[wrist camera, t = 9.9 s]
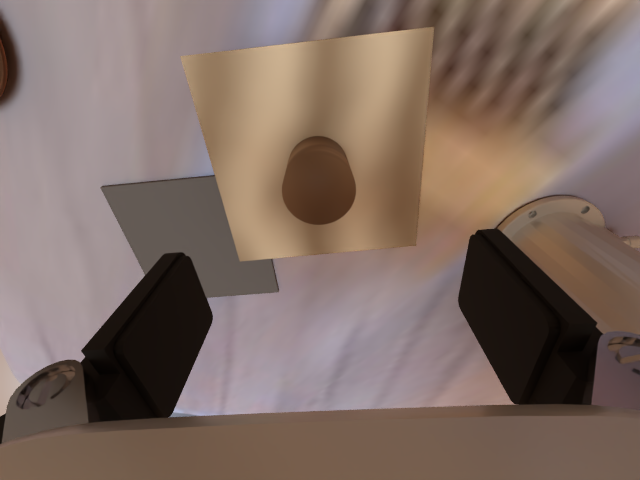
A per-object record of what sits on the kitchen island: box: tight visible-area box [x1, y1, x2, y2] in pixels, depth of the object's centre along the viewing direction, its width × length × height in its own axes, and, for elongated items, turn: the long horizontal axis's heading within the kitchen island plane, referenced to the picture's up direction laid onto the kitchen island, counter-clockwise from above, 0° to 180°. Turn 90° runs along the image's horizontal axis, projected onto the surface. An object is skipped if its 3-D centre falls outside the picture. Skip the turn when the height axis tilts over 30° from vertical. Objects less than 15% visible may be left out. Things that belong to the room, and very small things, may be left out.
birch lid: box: [180, 27, 434, 261], centre depth 18 cm, size 14×14×5 cm
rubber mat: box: [100, 175, 279, 298], centre depth 35 cm, size 16×16×1 cm
